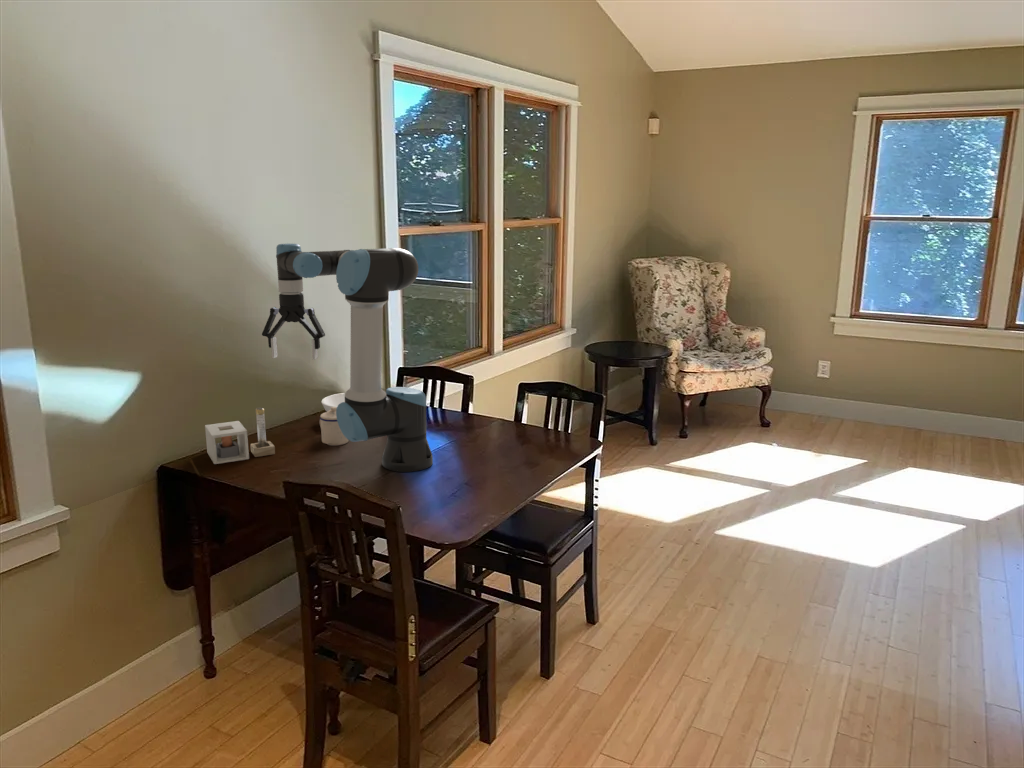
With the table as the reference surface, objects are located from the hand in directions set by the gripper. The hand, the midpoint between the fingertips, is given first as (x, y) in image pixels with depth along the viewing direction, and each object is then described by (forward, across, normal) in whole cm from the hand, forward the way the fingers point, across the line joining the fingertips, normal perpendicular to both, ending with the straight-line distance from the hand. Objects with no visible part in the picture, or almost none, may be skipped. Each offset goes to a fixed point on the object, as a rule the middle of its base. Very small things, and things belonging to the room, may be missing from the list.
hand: (294, 358), depth 256 cm
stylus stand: (+26, +4, +19) cm, 33 cm away
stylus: (+26, +4, +19) cm, 33 cm away
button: (+23, +13, +24) cm, 35 cm away
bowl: (+27, -12, -19) cm, 35 cm away
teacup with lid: (+27, -12, +3) cm, 30 cm away
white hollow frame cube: (+26, +14, +24) cm, 38 cm away
